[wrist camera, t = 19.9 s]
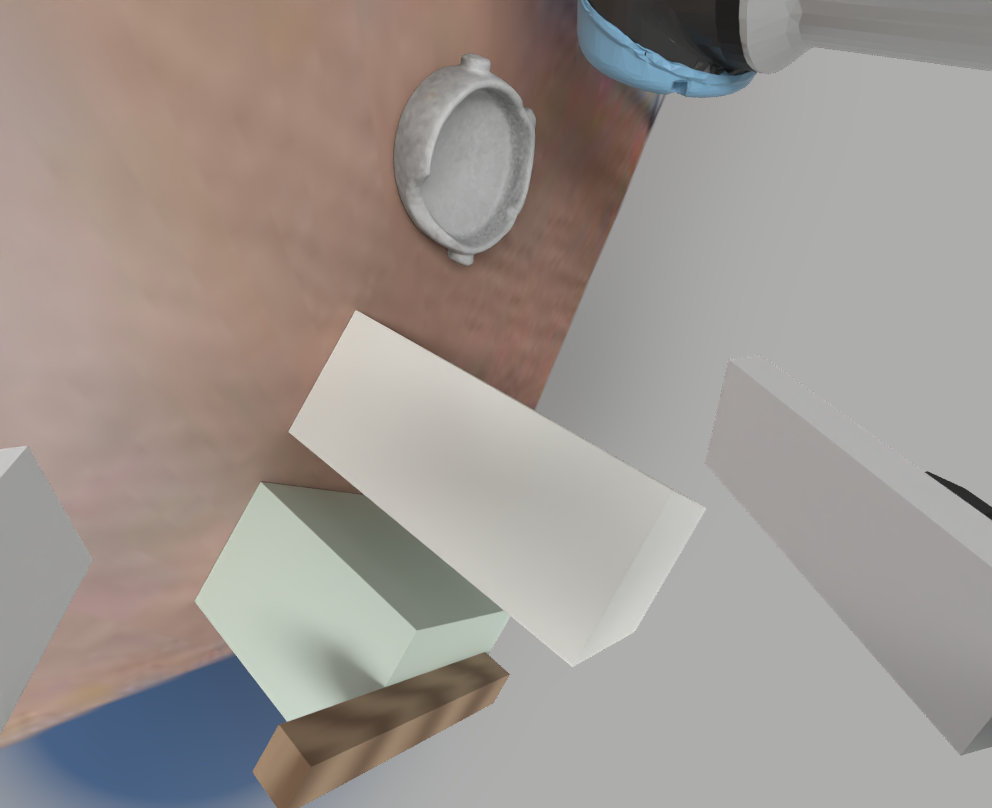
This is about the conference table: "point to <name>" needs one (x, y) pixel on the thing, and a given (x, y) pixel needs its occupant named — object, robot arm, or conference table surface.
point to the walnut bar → (372, 729)
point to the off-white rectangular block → (497, 489)
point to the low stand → (338, 600)
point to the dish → (464, 157)
